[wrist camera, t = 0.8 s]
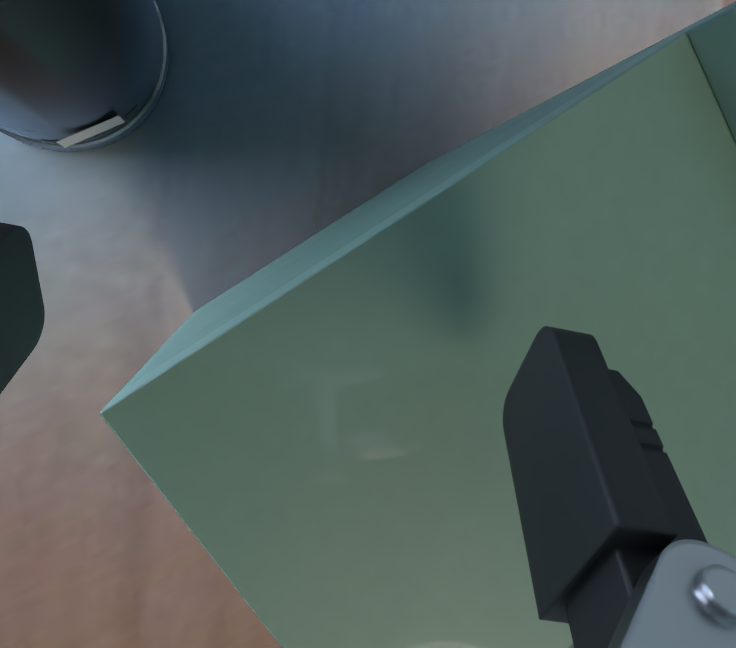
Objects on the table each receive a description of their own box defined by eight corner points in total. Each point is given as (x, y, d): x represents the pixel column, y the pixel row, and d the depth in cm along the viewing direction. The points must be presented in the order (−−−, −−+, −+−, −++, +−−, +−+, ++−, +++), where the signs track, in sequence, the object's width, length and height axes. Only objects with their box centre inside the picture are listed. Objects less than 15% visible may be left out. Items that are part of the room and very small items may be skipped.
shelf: (192, 312, 29) (77, 433, 9) (422, 165, 31) (768, -16, 10) (408, 617, 33) (662, 1167, 13) (599, 474, 35) (1086, 768, 15)
